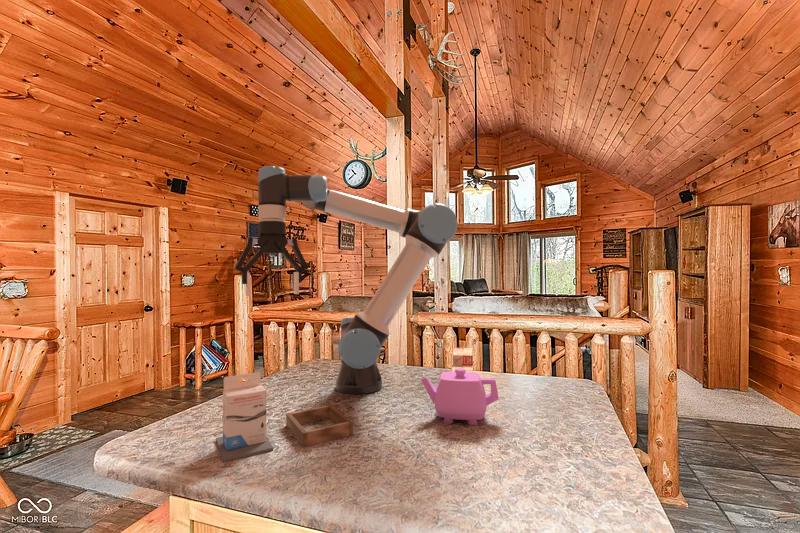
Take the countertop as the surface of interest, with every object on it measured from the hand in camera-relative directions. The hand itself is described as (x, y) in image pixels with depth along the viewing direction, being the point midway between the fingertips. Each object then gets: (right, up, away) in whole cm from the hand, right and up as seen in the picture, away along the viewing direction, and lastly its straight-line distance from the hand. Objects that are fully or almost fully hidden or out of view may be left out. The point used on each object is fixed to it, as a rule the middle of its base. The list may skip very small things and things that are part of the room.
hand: (272, 295), depth 114 cm
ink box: (+2, -31, -26) cm, 41 cm away
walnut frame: (+17, -32, -18) cm, 40 cm away
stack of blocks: (+56, -32, +9) cm, 65 cm away
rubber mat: (+2, -32, -26) cm, 41 cm away
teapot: (+52, -32, -11) cm, 62 cm away
